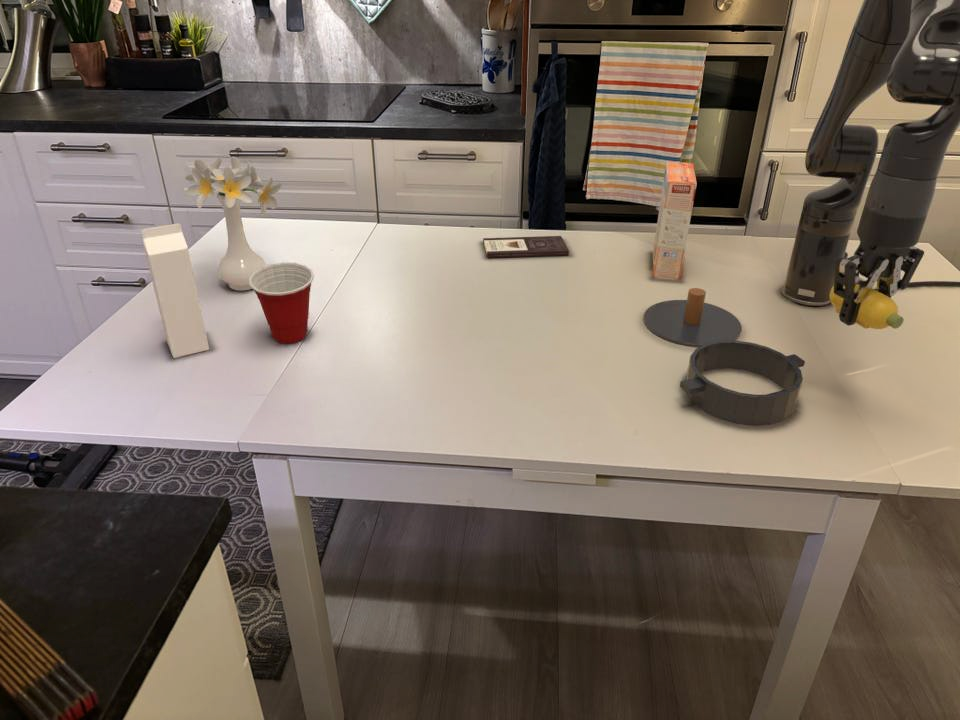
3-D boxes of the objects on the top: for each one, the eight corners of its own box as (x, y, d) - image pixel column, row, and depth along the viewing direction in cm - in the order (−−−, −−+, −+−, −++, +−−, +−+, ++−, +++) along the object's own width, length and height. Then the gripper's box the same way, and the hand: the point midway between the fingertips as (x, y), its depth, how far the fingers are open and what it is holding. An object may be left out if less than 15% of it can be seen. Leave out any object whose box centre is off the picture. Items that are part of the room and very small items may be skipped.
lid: (625, 313, 140) (629, 279, 136) (701, 298, 145) (707, 265, 142) (679, 358, 126) (685, 321, 122) (761, 339, 132) (769, 303, 128)
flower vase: (279, 301, 143) (260, 174, 130) (190, 294, 145) (163, 168, 132) (303, 273, 154) (288, 154, 141) (220, 267, 156) (198, 149, 143)
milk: (209, 350, 127) (184, 229, 116) (172, 358, 125) (143, 236, 113) (202, 334, 132) (177, 217, 120) (166, 342, 129) (137, 223, 118)
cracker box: (681, 282, 152) (698, 182, 141) (651, 279, 153) (665, 180, 142) (679, 255, 164) (694, 161, 153) (652, 253, 165) (665, 160, 154)
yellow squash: (818, 305, 110) (826, 276, 107) (843, 300, 111) (852, 271, 109) (880, 341, 101) (890, 310, 98) (906, 335, 102) (917, 304, 100)
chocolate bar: (568, 251, 163) (487, 253, 161) (568, 255, 163) (487, 257, 161) (560, 235, 170) (483, 238, 169) (560, 239, 171) (483, 242, 169)
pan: (650, 384, 119) (654, 354, 116) (758, 358, 126) (765, 330, 123) (714, 442, 106) (721, 410, 103) (831, 410, 113) (840, 379, 110)
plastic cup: (255, 354, 126) (244, 291, 120) (261, 324, 135) (251, 264, 129) (320, 349, 127) (312, 286, 121) (321, 320, 137) (314, 260, 130)
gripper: (878, 222, 92) (842, 340, 101) (960, 208, 97) (919, 322, 106) (833, 203, 98) (803, 316, 107) (913, 190, 103) (877, 300, 111)
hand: (861, 319), depth 106 cm, fingers closed on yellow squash, 5 cm apart
